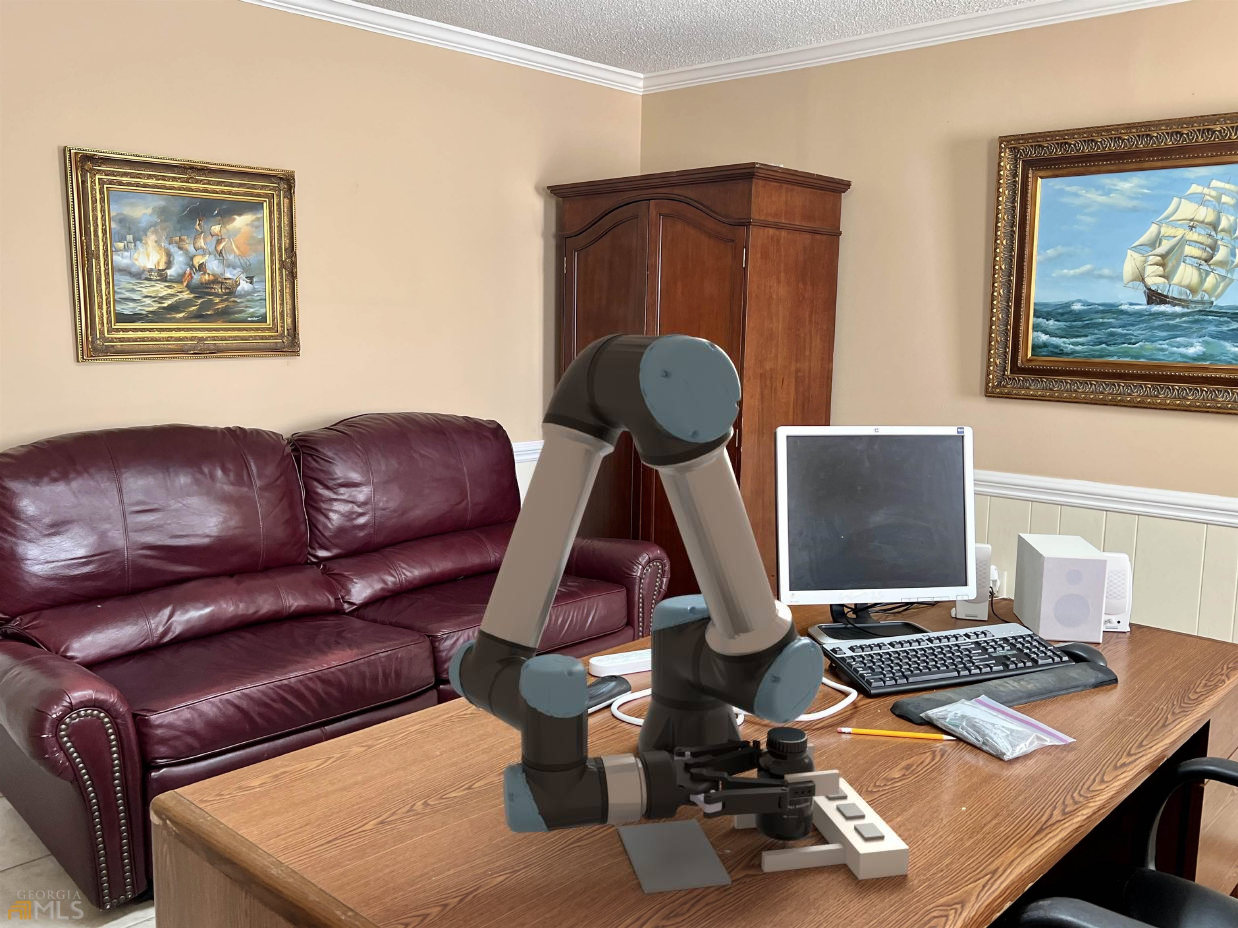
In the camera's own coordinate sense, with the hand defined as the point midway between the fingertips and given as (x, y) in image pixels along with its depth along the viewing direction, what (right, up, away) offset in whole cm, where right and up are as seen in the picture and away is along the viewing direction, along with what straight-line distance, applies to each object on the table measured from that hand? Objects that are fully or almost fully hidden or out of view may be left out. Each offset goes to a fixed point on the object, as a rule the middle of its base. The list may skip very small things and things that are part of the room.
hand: (824, 767), depth 120 cm
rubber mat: (-18, -10, -2) cm, 21 cm away
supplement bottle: (-5, -8, 0) cm, 9 cm away
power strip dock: (-1, -9, +1) cm, 9 cm away
